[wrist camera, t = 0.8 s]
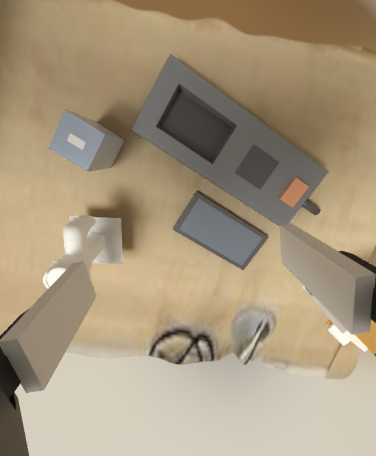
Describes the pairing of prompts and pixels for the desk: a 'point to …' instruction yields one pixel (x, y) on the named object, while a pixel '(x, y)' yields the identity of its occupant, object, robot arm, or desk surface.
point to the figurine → (88, 244)
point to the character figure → (364, 341)
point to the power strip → (227, 144)
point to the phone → (219, 231)
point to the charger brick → (85, 142)
